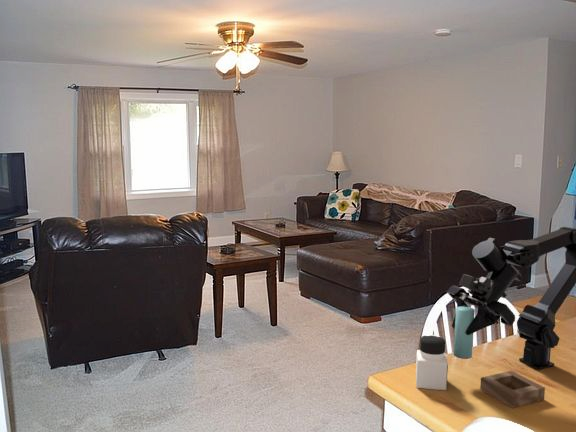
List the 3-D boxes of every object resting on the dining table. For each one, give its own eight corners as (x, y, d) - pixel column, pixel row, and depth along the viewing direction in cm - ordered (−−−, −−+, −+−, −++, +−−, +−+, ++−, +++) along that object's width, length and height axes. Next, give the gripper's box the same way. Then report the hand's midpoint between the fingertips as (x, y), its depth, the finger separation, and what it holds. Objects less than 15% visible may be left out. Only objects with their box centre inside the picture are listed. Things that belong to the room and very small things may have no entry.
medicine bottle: (446, 391, 130) (449, 343, 129) (416, 388, 132) (418, 341, 130) (444, 378, 137) (446, 333, 135) (415, 375, 139) (417, 331, 137)
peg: (463, 350, 138) (466, 305, 136) (475, 357, 134) (478, 310, 132) (449, 353, 136) (452, 307, 134) (461, 360, 132) (464, 313, 130)
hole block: (510, 381, 135) (511, 370, 135) (544, 399, 126) (545, 387, 126) (480, 389, 131) (480, 377, 131) (512, 408, 122) (513, 395, 122)
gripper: (454, 255, 141) (418, 300, 139) (509, 271, 125) (469, 324, 122) (475, 281, 146) (441, 325, 143) (532, 300, 129) (494, 351, 126)
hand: (459, 330), depth 133 cm, fingers closed on peg, 4 cm apart
